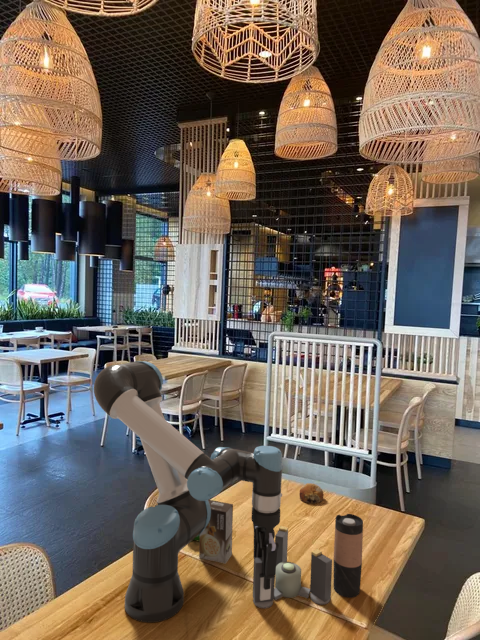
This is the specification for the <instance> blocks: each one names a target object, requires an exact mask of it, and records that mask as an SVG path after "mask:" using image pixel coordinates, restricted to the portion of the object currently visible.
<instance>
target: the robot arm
mask: <svg viewBox="0 0 480 640" xmlns="http://www.w3.org/2000/svg"><path fill="white" fill-rule="evenodd" d="M163 384H164V379H163V375H162V372H161V371H160V369H159V368H158V367H157V366H156V365H155V364H154V363H151V362H149V361H146V360H145V361H143V360H142V361H141V360H135V361H131V362H126V363H125V362H124V363H118V364H113V365H109V366H107V367H105V368H103V369H102V370H101V371H100V372H99V373H98V374H97V376H96V378H95V380H94V383H93V393H94V394H93V395H94V397H95V400H96V402H97V405H99V407H100V409H102V410H103V412H105V413H106V414H107V415H108V416H109V417H110V418H111V419H114V420H115V419H116V420H117V419H118V420H119V421H121V422H122V424H124V425H125V426H127V428H129V430H131V431H132V432H133V433H134V434H135V435H136V436H137V437H139V440H140V442H141V445H142V448H143V450H144V453H145V456H146V459H147V463H148V465H149V467H150V471H151V473H152V476H153V479H154V481H155V485H156V487H157V490H158V493H159V494H158V495H159V496H158V497H157V500H156V505H155V506H152V505H151V506H149V507H146V508H145V509H143V510H142V511H141V512H140V513H138V515H137V516H136V518H135V520H134V522H133V531H132V573H131V578H130V581H129V583H128V587H127V590H126V592H125V596H124V610H125V612H126V614H127V615H128V616H129V617H130V618H132V619H133V620H136V621H138V622H142V623H158V622H162V621H165V620H168V619H170V618H172V617H174V616H175V615H177V614H178V613H179V611H180V610H181V609H182V607H183V605H184V600H185V599H184V597H185V594H184V593H185V592H184V587H183V584H182V581H181V578H180V575H179V571H178V570H179V553H180V551H181V550H183V549H184V548H186V546H187V545H188V544H190V543H191V542H192V541H194V540H193V539H194V538H195V537H197V536H199V535H200V534H201V533H202V532H203V530H204V529H205V528H206V527H207V525H208V523H209V521H210V517H211V508H210V504H209V501H208V500H212V499H213V498H215V497H216V496H218V495H219V494H220V493H221V492H222V491H223V490H224V489H226V488H227V487H229V486H230V485H231V484H233V482H235V481H236V480H238V481H242V482H247V483H252V490H251V491H252V493H251V506H252V507H251V522H252V525H253V559H254V558H259V557H262V574H259V575H260V601H262V600H268V599H270V597H271V578H276V574H275V573H276V560H277V551H278V547H279V544H278V542H277V543H275V535H276V532H275V530H274V529H275V528H277V527H278V525H280V523H281V504H282V503H281V501H282V497H283V493H282V479H283V478H282V477H283V467H284V465H283V453H282V451H281V449H280V448H278V447H276V446H272V445H260V446H256V447H255V448H254V451H253V452H251V451H246V450H240V449H236V448H232V447H229V446H228V447H223V446H218V447H216V448H215V449H214V450H213V452H212V453H211V455H210V457H209V456H208V454H206V453H204V451H202V450H201V449H200V448H199V447H198V446H196V445H195V443H193V442H192V441H191V440H190V439H188V438H187V437H186V436H185V435H184V434H183V433H181V432H180V431H179V430H178V429H176V428H175V427H174V426H173V425H172V424H170V422H168V420H166V419H165V416H164V413H163V411H162V408H161V405H160V404H161V402H162V399H163V397H162V393H161V391H162V389H163Z"/></svg>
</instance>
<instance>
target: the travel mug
mask: <svg viewBox="0 0 480 640" xmlns="http://www.w3.org/2000/svg"><path fill="white" fill-rule="evenodd" d="M363 531H364V520H363V519H362V518H361V517H360V516H358V515H356V514H353V513H347V514H345V515H341V514H337V515H336V516H335V522H334V543H333V545H334V546H333V590H334V592H336V593H335V594H338V596H341V597H344V598H350V599H351V598H355V597H358V596H359V594H360V593H361V581H362V580H361V579H362V568H363V567H362V566H363V542H364V541H363V537H364V534H363Z"/></svg>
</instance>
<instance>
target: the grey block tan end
mask: <svg viewBox="0 0 480 640" xmlns="http://www.w3.org/2000/svg"><path fill="white" fill-rule="evenodd" d="M274 542H275V543H277V542H278V544H279V547H278V551H277V560H276V566H277V565H278V564H279V563H281V562H288V543H289V527H288V526H284V525H283V526H282V525H280V526H279V527H278V530H277V532H276V533H275V538H274ZM275 575H276V573H275Z"/></svg>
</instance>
